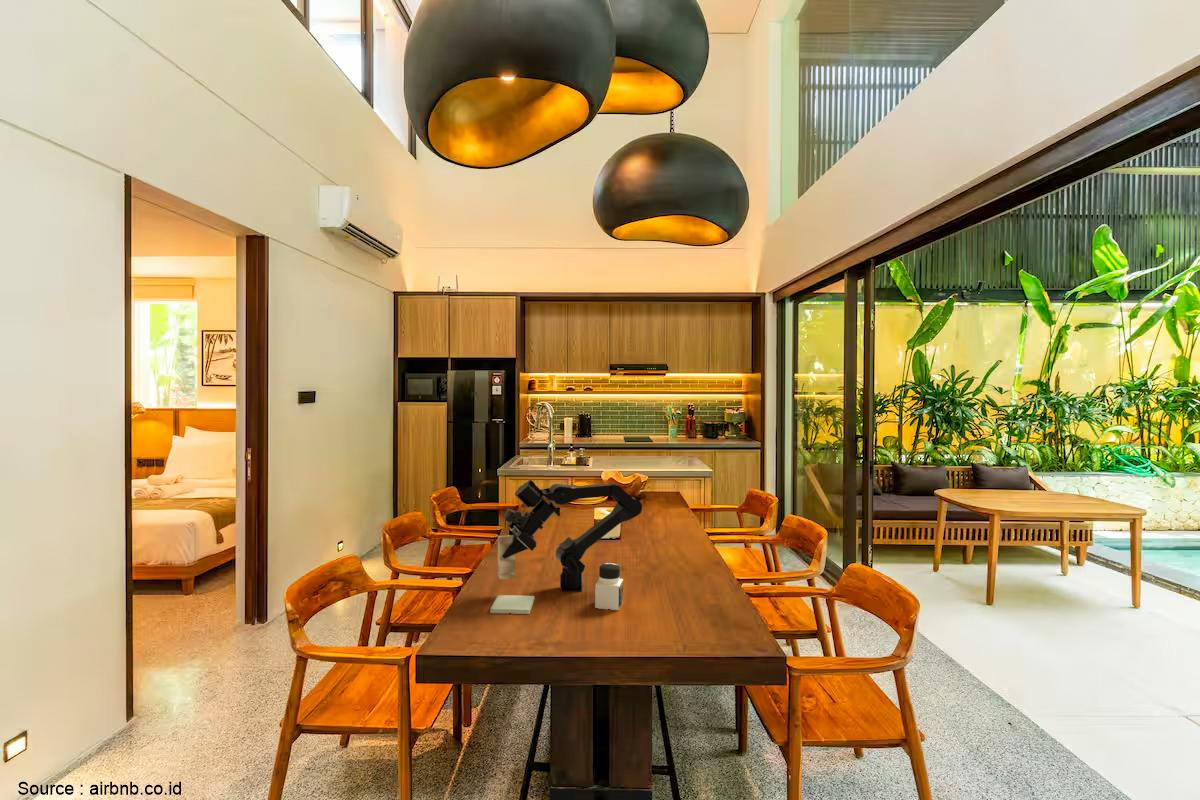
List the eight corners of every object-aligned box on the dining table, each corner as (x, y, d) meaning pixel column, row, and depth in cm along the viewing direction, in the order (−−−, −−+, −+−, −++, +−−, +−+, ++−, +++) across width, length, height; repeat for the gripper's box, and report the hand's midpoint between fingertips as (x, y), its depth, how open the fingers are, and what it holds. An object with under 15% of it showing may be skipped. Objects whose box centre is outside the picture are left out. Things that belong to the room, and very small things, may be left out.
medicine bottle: (619, 610, 166) (619, 569, 166) (594, 608, 168) (595, 567, 168) (623, 602, 173) (623, 562, 173) (599, 600, 175) (600, 560, 175)
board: (534, 599, 174) (534, 595, 174) (529, 613, 163) (529, 609, 163) (498, 599, 174) (498, 595, 174) (490, 613, 163) (490, 608, 163)
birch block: (512, 573, 181) (512, 535, 180) (515, 577, 176) (515, 538, 176) (497, 574, 179) (497, 536, 179) (500, 579, 175) (500, 539, 175)
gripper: (513, 494, 187) (479, 531, 184) (525, 505, 170) (487, 546, 166) (537, 517, 190) (503, 553, 187) (551, 530, 173) (514, 570, 169)
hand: (501, 555), depth 177 cm, fingers closed on birch block, 5 cm apart
